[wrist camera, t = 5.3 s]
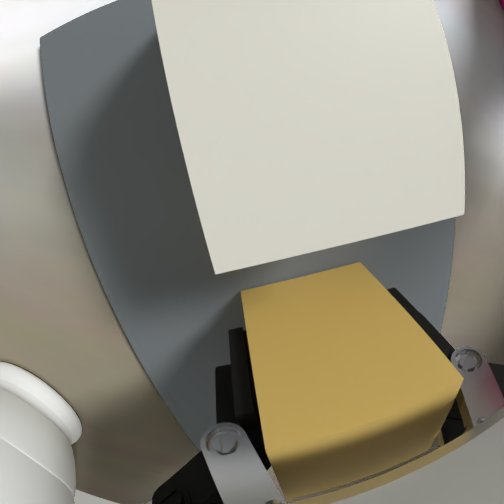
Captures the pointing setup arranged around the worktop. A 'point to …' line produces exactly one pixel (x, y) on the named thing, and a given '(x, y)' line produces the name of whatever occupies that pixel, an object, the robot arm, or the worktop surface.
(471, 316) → the worktop surface
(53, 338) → the worktop surface
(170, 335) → the mat
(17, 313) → the worktop surface
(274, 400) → the stub
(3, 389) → the jar
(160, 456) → the worktop surface
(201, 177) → the ticket
